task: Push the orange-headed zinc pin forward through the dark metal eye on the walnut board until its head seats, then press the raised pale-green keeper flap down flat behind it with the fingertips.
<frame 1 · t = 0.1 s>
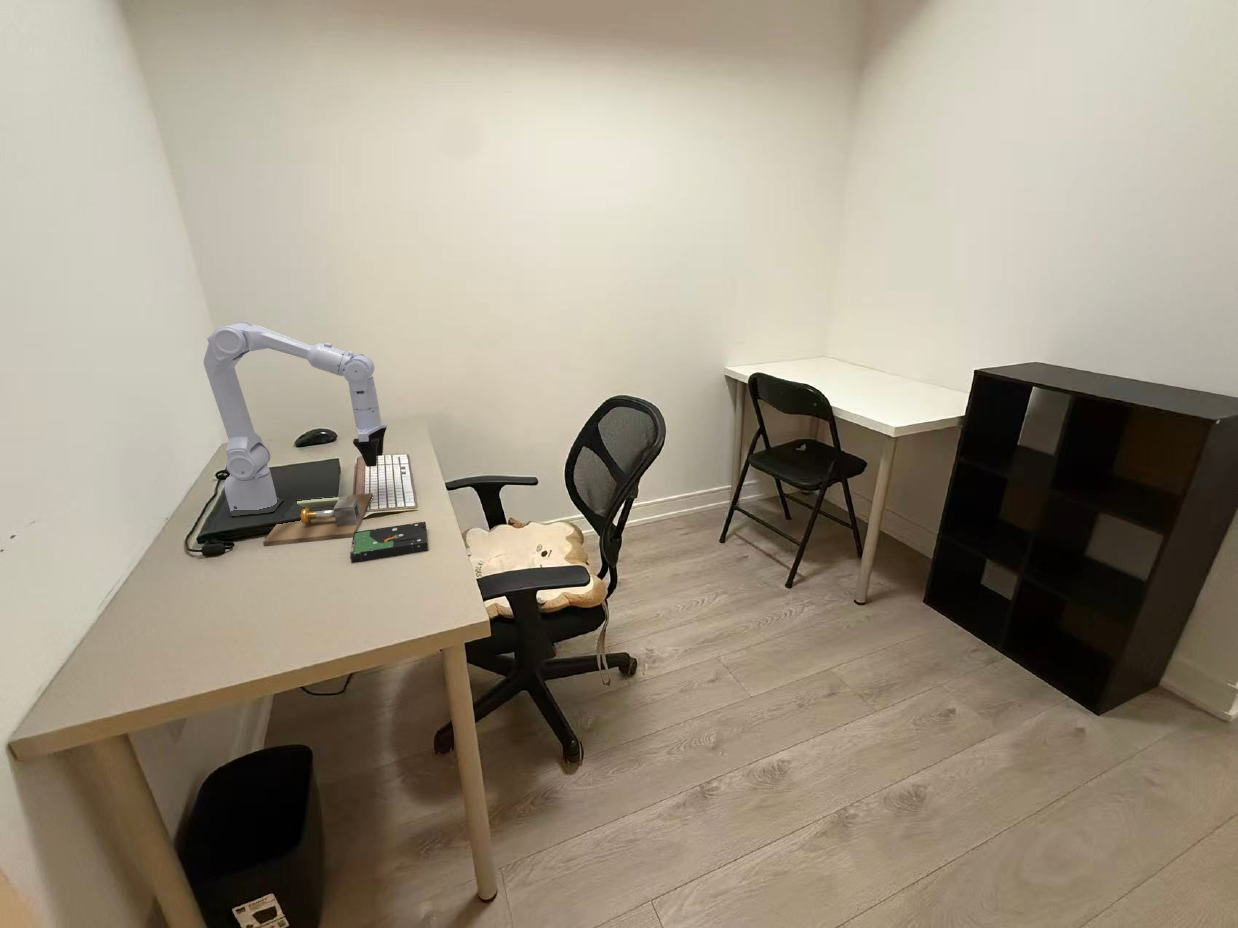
hand: (375, 460, 140), 10 cm above the table, tool pointing down, fingers open, 7 cm apart
pin: (323, 514, 127), point 3 cm above the table, slide at 0.0 cm
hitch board: (323, 519, 132), on the table
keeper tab: (322, 503, 133), point 3 cm above the table, hinge at 35.0°
disk drive: (391, 548, 120), on the table
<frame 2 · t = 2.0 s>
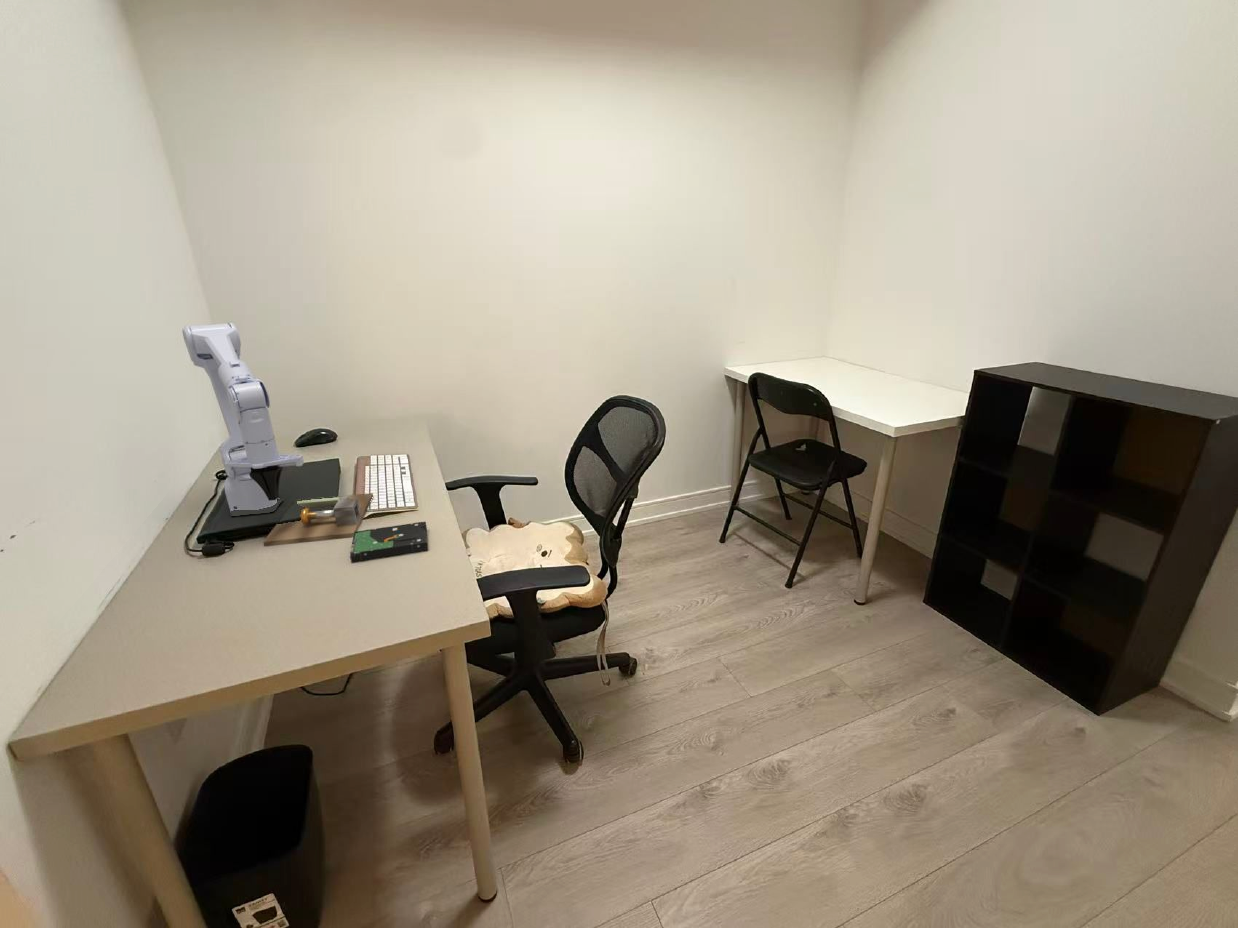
hand: (273, 498, 124), 8 cm above the table, tool pointing down, fingers closed
nothing on the table moved.
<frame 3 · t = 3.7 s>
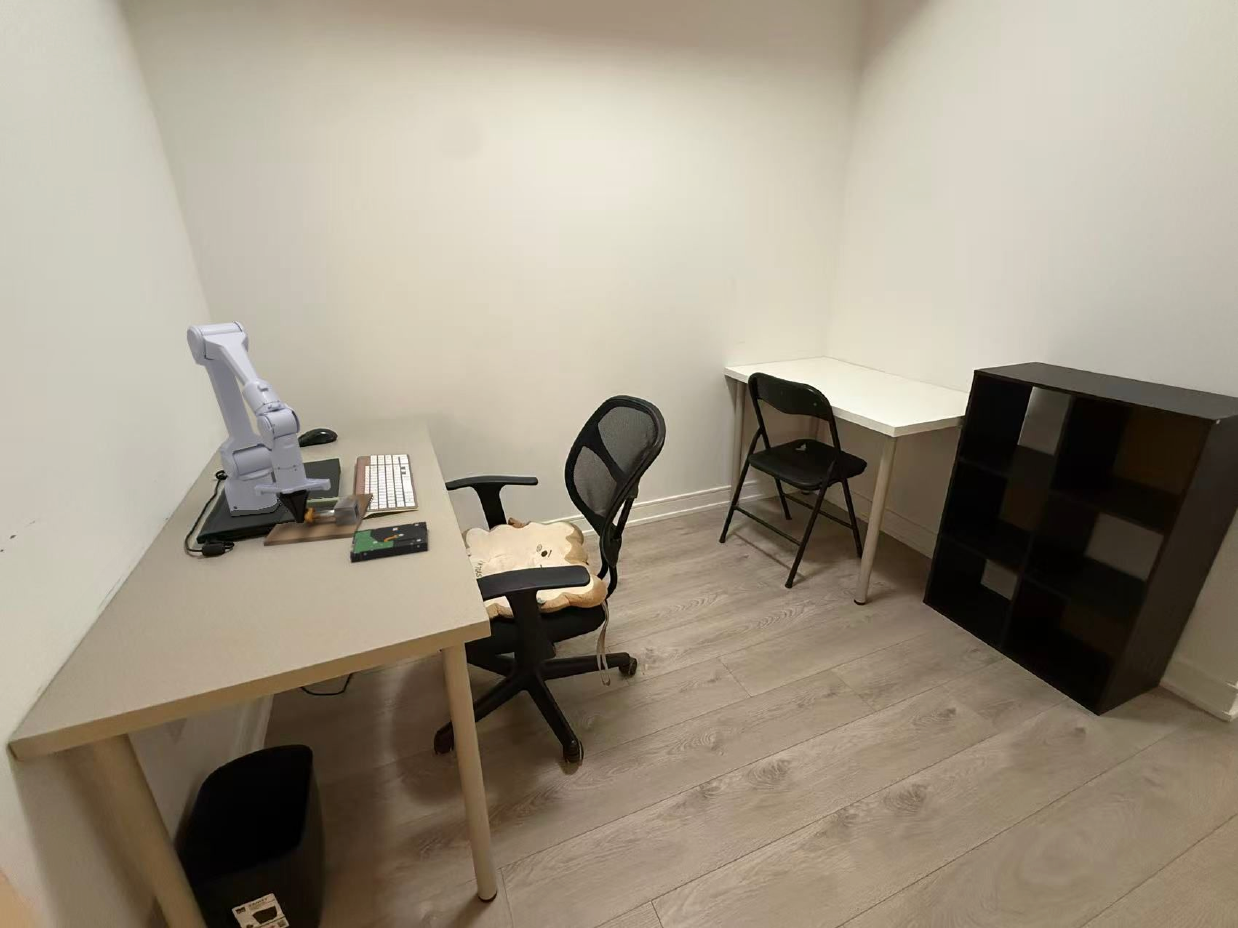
hand: (301, 521, 127), 2 cm above the table, tool pointing down, fingers closed
pin: (327, 514, 128), point 3 cm above the table, slide at 0.9 cm, touching gripper
everything else where it was.
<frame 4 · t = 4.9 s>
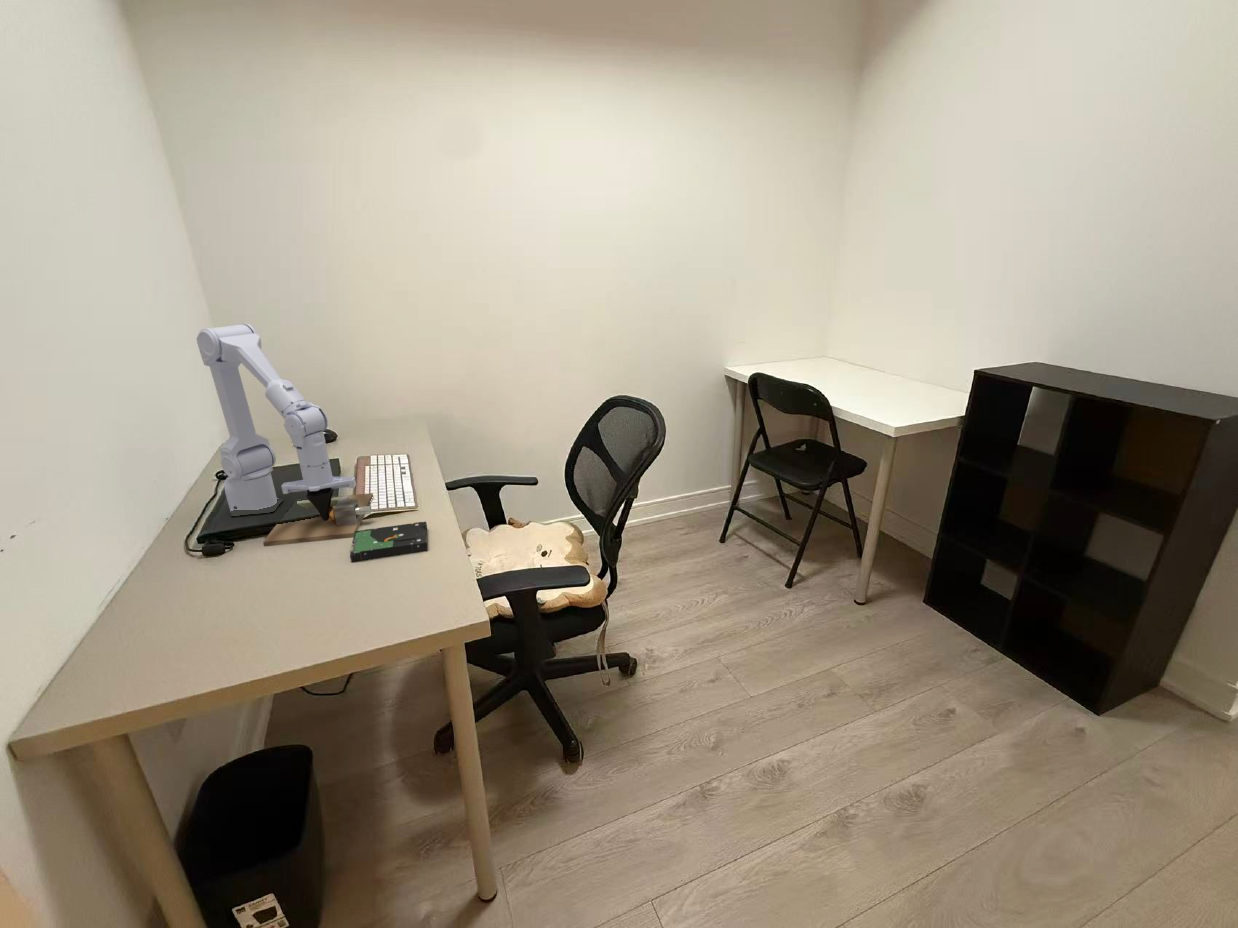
hand: (326, 518, 128), 2 cm above the table, tool pointing down, fingers closed
pin: (350, 511, 128), point 3 cm above the table, slide at 5.9 cm, touching gripper
everything else where it was.
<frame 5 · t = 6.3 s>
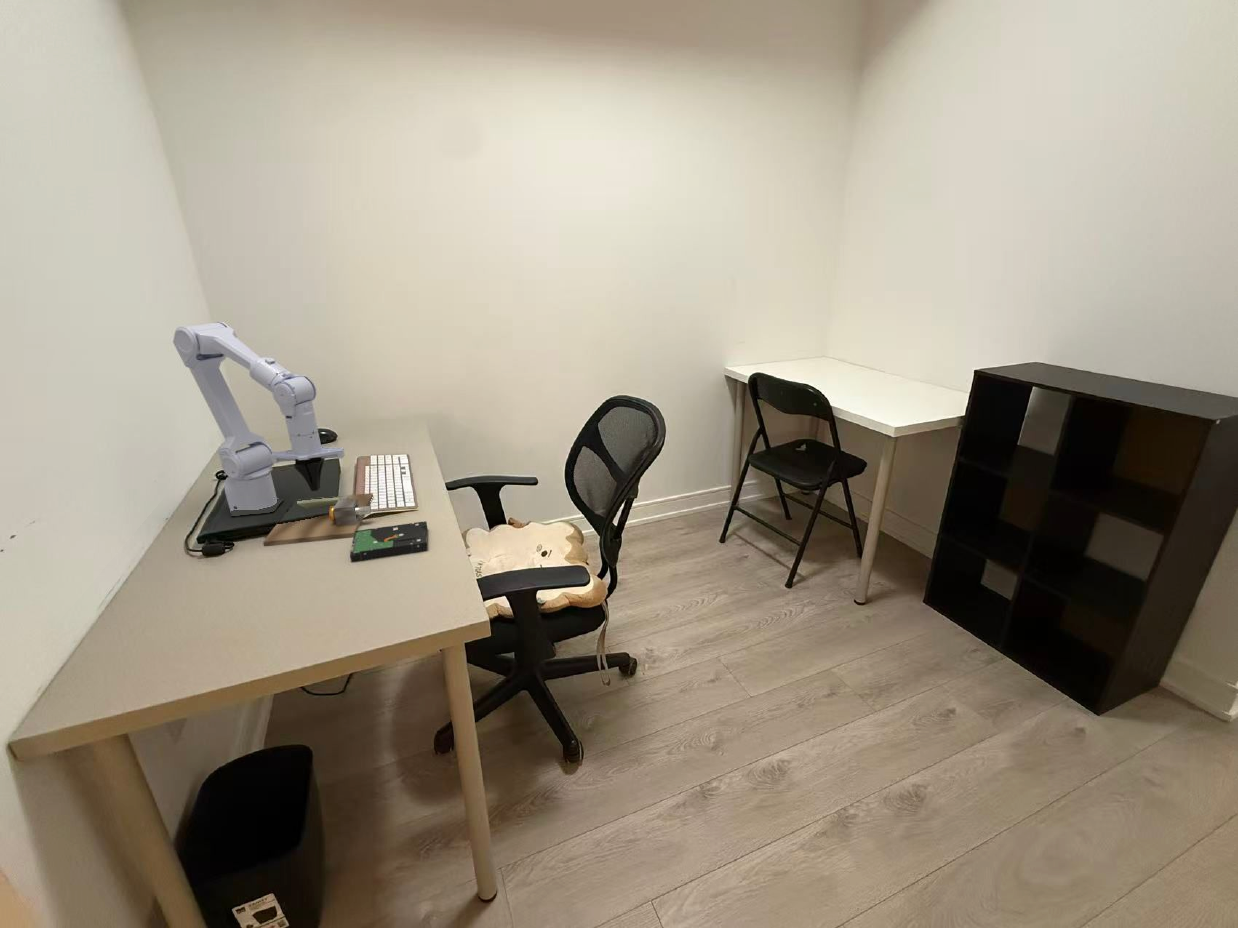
hand: (315, 489, 129), 8 cm above the table, tool pointing down, fingers closed
pin: (350, 511, 128), point 3 cm above the table, slide at 5.8 cm
everything else where it was.
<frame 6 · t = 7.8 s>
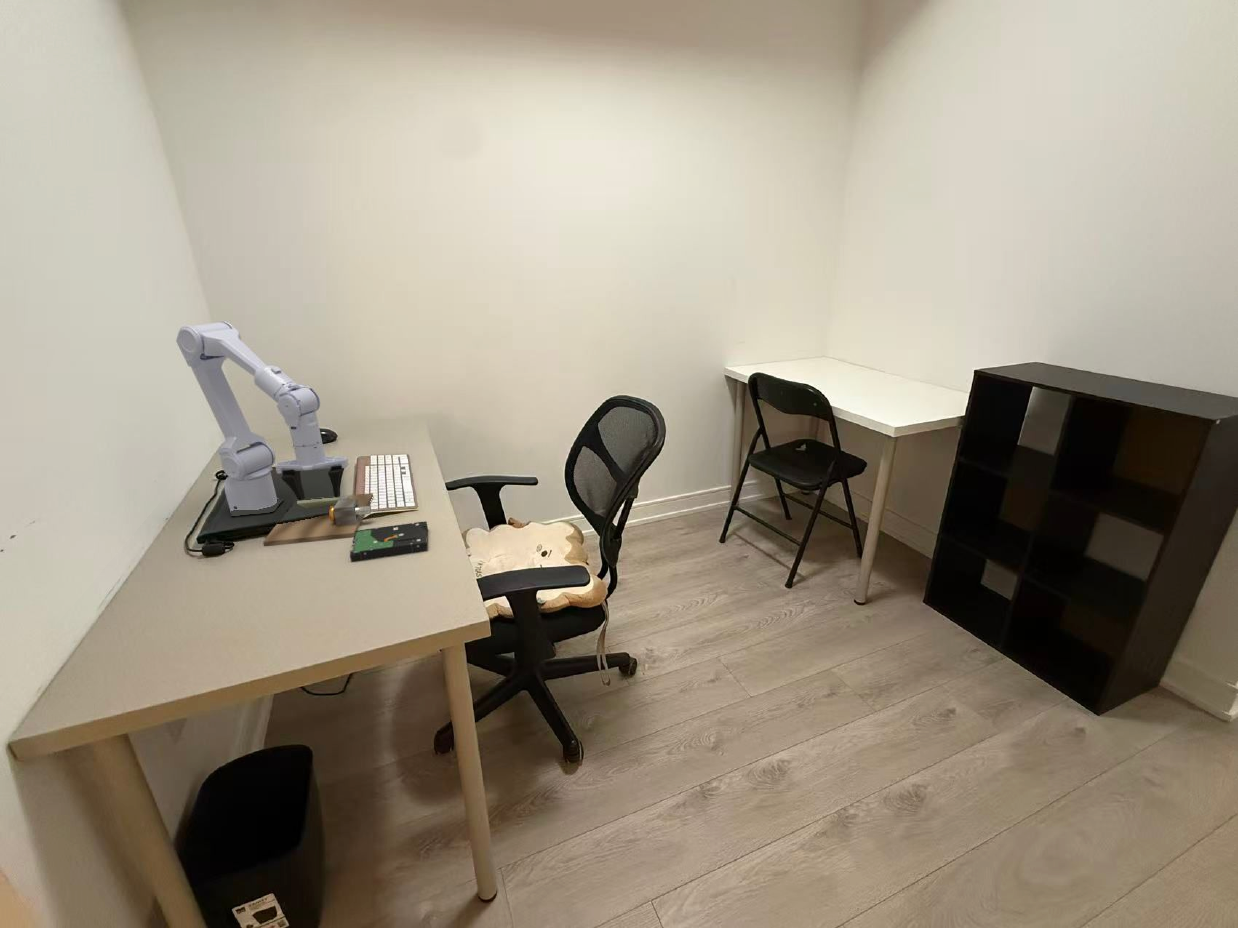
hand: (320, 498, 131), 5 cm above the table, tool pointing down
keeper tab: (322, 503, 133), point 3 cm above the table, hinge at 35.0°, touching gripper
everything else where it was.
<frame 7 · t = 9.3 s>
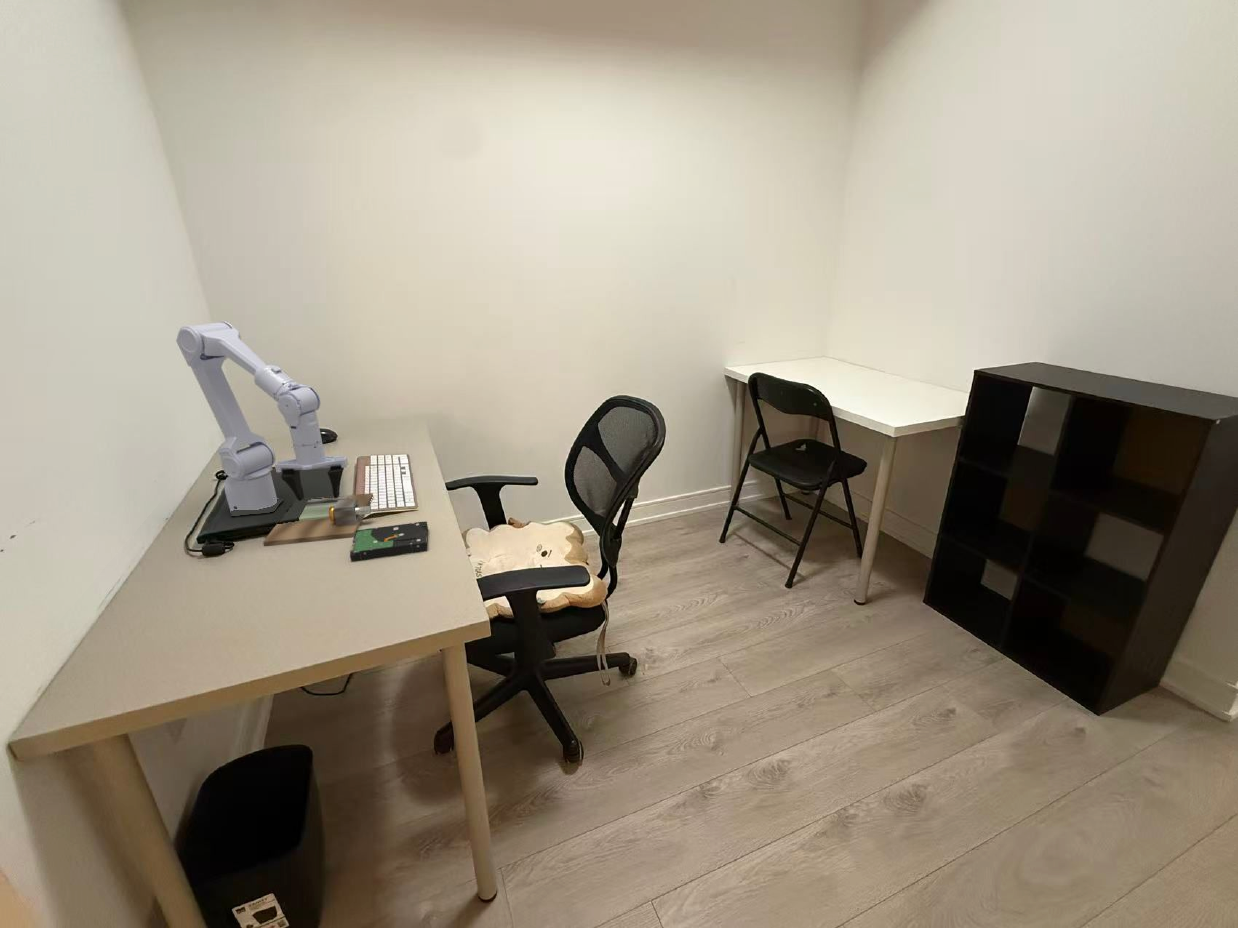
hand: (319, 497, 131), 5 cm above the table, tool pointing down, fingers open, 7 cm apart
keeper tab: (323, 510, 133), point 2 cm above the table, hinge at -5.0°, touching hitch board
everything else where it was.
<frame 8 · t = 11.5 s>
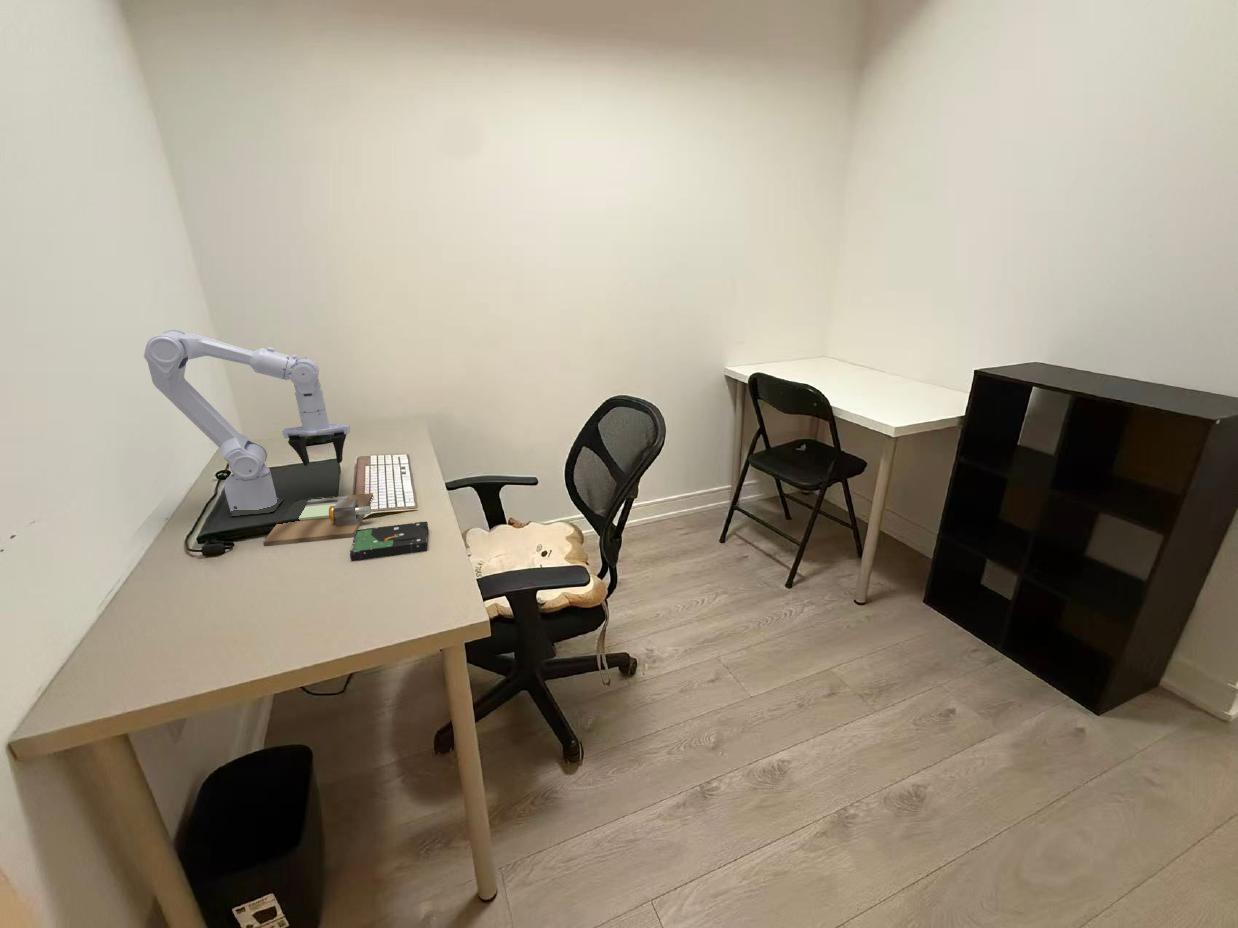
hand: (323, 462, 141), 9 cm above the table, tool pointing down, fingers open, 7 cm apart
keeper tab: (323, 510, 133), point 2 cm above the table, hinge at -3.4°
everything else where it was.
at the end: pin slide at 5.8 cm; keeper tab at -3° (first picture: +35°) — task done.
